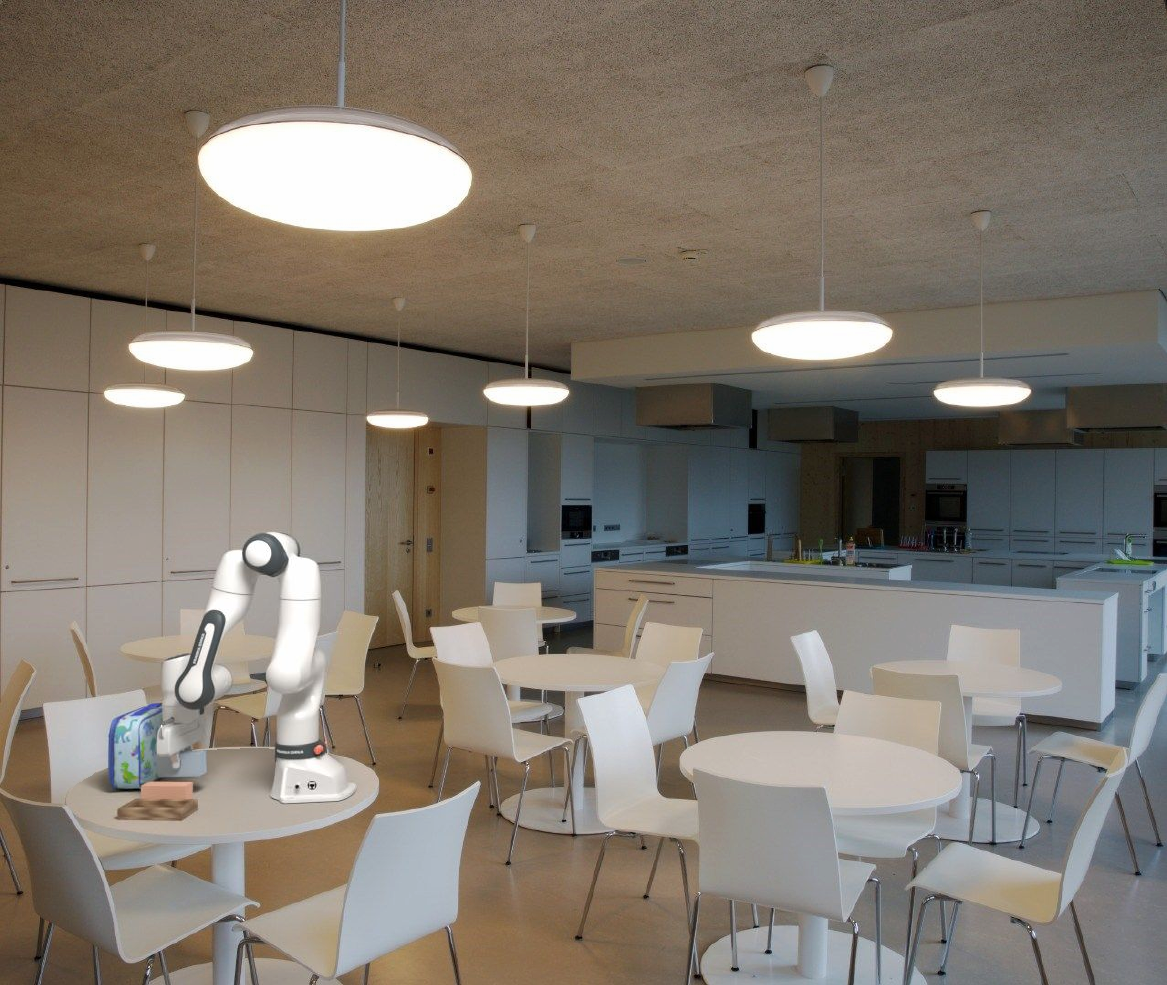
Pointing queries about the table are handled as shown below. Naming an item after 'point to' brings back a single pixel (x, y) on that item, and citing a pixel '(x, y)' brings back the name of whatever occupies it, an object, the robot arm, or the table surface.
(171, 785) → the salmon orange rectangular block
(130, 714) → the lunch box
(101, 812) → the table surface
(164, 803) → the jig
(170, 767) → the pale blue upright slab
